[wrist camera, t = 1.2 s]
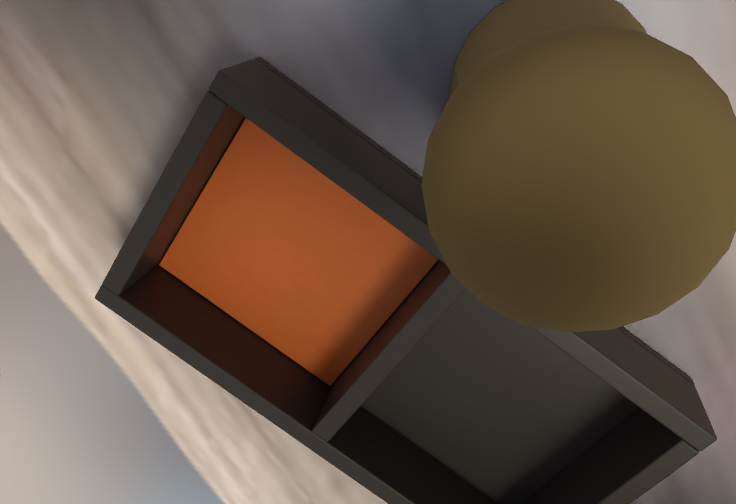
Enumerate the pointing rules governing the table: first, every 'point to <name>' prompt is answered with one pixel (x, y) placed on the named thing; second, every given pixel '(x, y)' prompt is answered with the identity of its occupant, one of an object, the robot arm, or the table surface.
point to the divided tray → (379, 320)
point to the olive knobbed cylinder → (579, 167)
